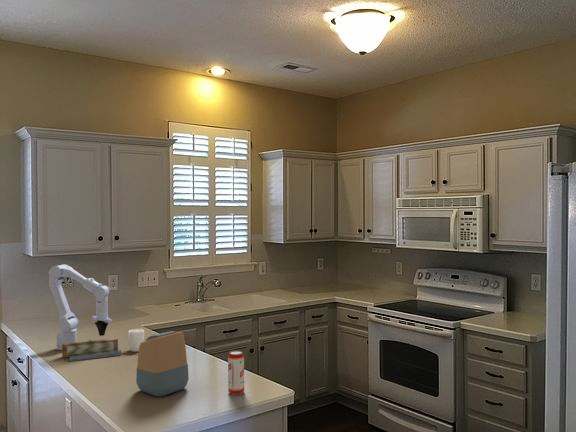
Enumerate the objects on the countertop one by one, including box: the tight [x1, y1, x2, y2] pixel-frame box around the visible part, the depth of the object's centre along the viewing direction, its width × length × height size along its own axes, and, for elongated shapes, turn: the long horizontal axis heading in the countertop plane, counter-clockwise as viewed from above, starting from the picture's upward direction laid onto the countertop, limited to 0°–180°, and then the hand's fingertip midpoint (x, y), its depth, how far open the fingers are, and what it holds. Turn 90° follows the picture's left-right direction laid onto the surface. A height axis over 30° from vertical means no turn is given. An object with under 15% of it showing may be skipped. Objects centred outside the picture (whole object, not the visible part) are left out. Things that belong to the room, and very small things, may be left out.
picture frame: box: [61, 338, 119, 358], centre depth 263 cm, size 26×3×6 cm, turn 113°
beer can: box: [227, 350, 245, 396], centre depth 206 cm, size 6×6×16 cm
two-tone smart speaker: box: [135, 330, 189, 398], centre depth 210 cm, size 17×17×23 cm
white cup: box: [127, 328, 145, 352], centre depth 270 cm, size 8×8×10 cm
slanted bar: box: [68, 349, 123, 362], centre depth 257 cm, size 24×3×2 cm, turn 114°
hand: (101, 335), depth 272 cm, fingers closed
